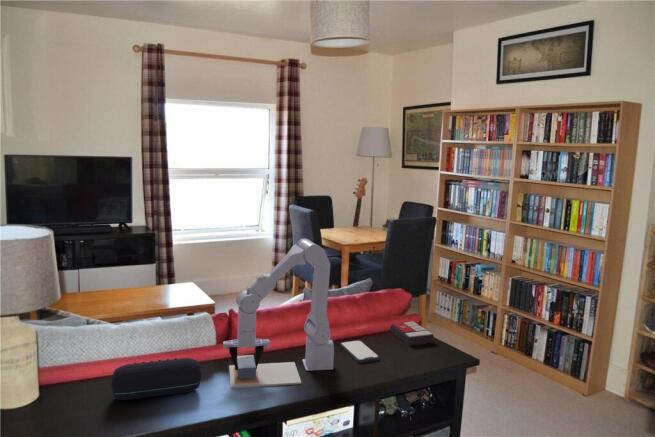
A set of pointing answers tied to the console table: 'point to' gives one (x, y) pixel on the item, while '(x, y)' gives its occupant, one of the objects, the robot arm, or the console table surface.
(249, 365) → the card deck
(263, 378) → the mat
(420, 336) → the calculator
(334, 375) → the console table surface
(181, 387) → the portable speaker
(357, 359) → the phone case
